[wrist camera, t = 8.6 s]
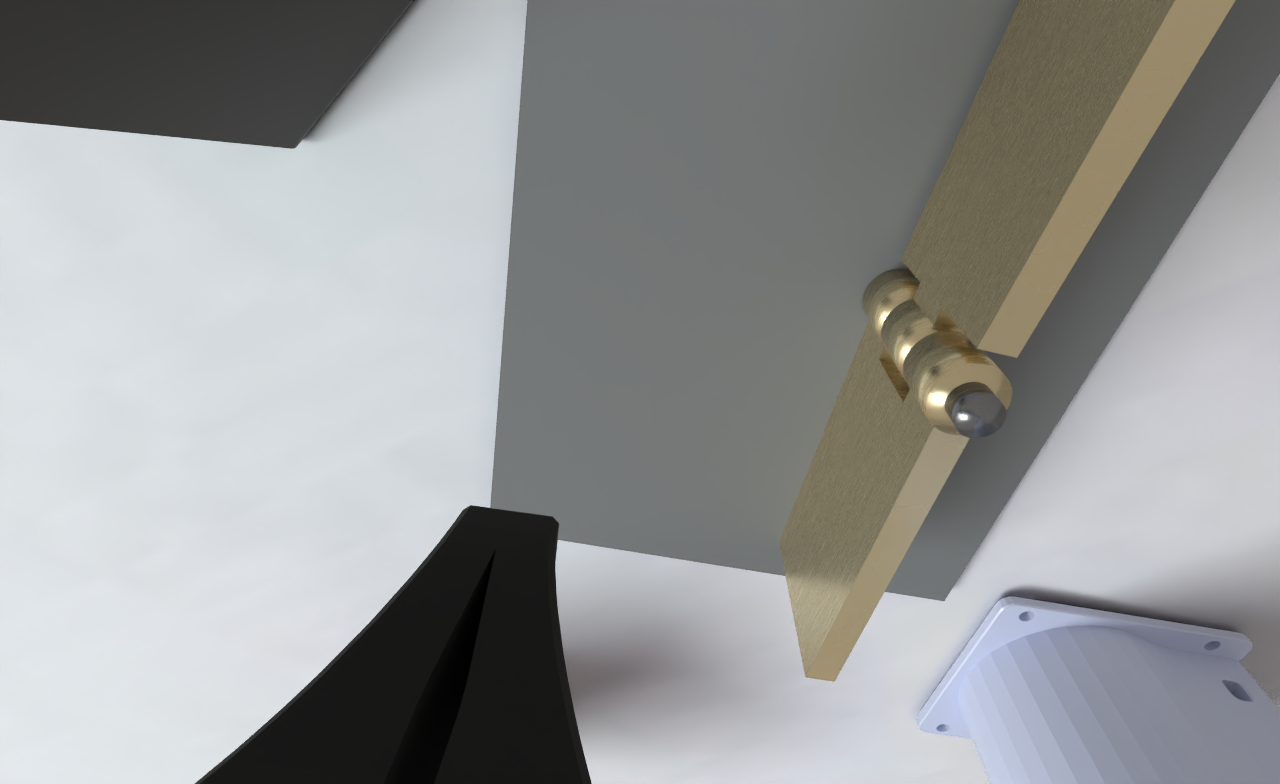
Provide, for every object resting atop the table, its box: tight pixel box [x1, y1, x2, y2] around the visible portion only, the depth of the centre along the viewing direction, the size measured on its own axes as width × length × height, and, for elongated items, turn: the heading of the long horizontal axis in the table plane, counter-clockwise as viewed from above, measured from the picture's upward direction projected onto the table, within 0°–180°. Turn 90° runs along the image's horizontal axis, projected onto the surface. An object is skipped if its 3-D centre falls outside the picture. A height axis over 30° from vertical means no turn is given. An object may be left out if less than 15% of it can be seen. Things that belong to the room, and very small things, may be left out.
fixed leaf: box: [779, 269, 1012, 681], centre depth 17 cm, size 10×2×6 cm, turn 170°
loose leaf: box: [881, 0, 1236, 378], centre depth 12 cm, size 10×2×5 cm, turn 167°
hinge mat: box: [490, 0, 1280, 601], centre depth 17 cm, size 16×21×1 cm
